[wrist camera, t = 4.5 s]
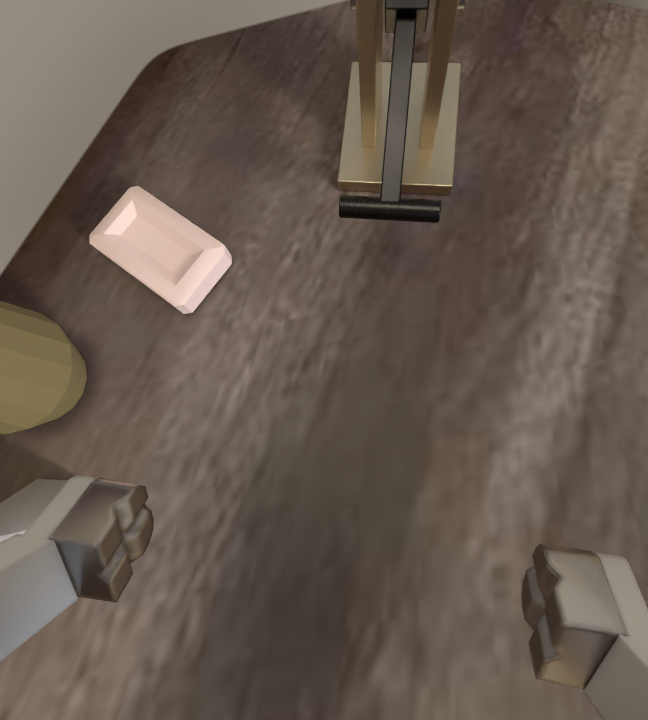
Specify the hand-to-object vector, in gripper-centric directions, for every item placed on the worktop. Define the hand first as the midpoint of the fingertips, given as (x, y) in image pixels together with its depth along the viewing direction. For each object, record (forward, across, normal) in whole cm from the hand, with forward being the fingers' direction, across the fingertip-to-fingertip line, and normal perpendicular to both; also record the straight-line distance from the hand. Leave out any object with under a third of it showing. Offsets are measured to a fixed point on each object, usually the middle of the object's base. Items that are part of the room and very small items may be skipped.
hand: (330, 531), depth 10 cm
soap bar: (+26, +16, +5) cm, 31 cm away
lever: (+25, 0, -6) cm, 25 cm away
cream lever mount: (+34, 0, -3) cm, 34 cm away
